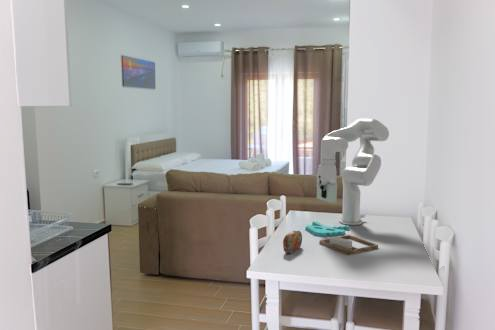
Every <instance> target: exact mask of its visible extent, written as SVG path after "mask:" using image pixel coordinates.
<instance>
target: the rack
mask: <svg viewBox="0 0 495 330" xmlns="http://www.w3.org/2000/svg"><path fill="white" fill-rule="evenodd" d="M337 237H338V238H343V239H347V240H348V239H349V240H351V241H356V242H358V243H361V244H364V245H367V246H363V247H359V248H357V247H354V246H353V245H352V246H351V247H352V250H350V251H347V250H344V249H341V248H339V247H336V246H334V245H331V244H329V241H330V238H325V239H321V240H318V241H319V243H318V245H319V244H320V245H322V246H325V247H326V248H329V249H332V250H335V251H336V252H339V253H341V254H343V255H347V256H349V255H355V254H358V253H364V252H366V251H370V250H375V249H378V248H379V244H377V243H374V242H370V241H368V240H366V239H362V238H359V237H356V236H353V235H350V234H346V235H345V234H344V235H339V236H337Z"/></svg>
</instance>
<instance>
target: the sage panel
mask: <svg viewBox="0 0 495 330" xmlns="http://www.w3.org/2000/svg"><path fill="white" fill-rule="evenodd" d="M323 187H324V185H323ZM321 192H322V190H321V189H320V187H318V186H317V185H316V199H317V200H320V201H325V202H328V203H332V204H333V203H338V201H337V200H338V197H337V196H338V184H327V185H326V198H322V197H321Z"/></svg>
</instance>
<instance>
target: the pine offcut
mask: <svg viewBox="0 0 495 330" xmlns="http://www.w3.org/2000/svg"><path fill="white" fill-rule="evenodd" d="M328 243H329V244H331V245H334V246H336V247H339V248H341V249H344V250H347V251H350V250H352V247H345V246H341V245H337V244H332V243H330V241H329V242H328Z"/></svg>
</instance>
